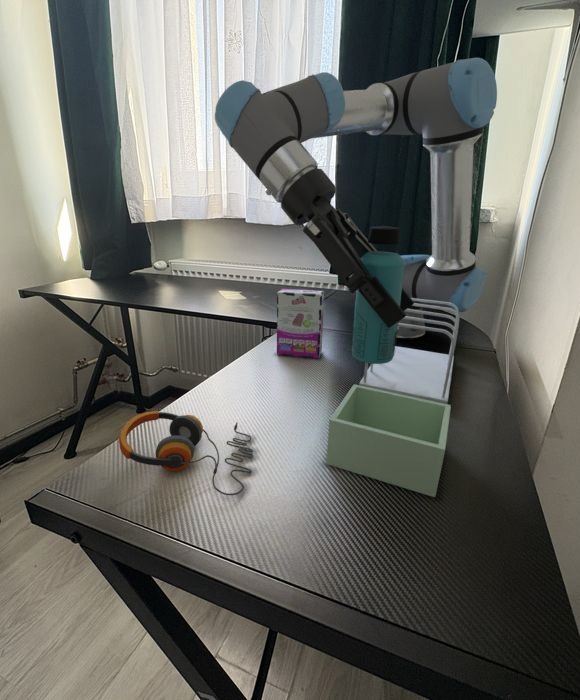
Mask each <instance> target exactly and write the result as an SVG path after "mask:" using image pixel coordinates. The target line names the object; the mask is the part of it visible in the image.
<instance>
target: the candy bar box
mask: <svg viewBox="0 0 580 700" xmlns="http://www.w3.org/2000/svg"><path fill="white" fill-rule="evenodd" d="M324 307H325V290H315V289H314V290H313V289H296V288H280V290H278V291H277V292H276V355H277V356H285V357H286V356H288V357H298V358H306V359H307V358H308V359H320V357H321V354H322V352H323V333H324V332H323V331H324V330H323V329H324V328H323V327H324Z"/></svg>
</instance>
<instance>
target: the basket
mask: <svg viewBox="0 0 580 700" xmlns="http://www.w3.org/2000/svg"><path fill="white" fill-rule="evenodd" d="M451 409H452V405H451V404H443V403H438V402H434V401H429V400H424V399H420V398H415V397H411V396H406V395H401V394H397V393H392V392H387V391H383V390H378V389H374V388H369V387H364V386H360V385H359V384H355V383H354V384H353V385H352V386H351V388H350V389H349V391H348V392H347V393H346V395H345V396H344V398H343V399H342V401H341V402H340V404H339V405H338V407H337V408H336V409H335V411H334V413H332V415H331V417H330V418H329V419H328V421H329V423H328V432H327V433H328V434H327V448H326V461H325V463H326V465H328V466H331V467H334V468H338V469H341V470H345V471H347V472H351V473H353V474H358V475H361V476H363V477H367V478H371V479H374V480H377V481H380V482H383V483H386V484H390V485H393V486H396V487H400V488H402V489H405V490H409V491H413V492H416V493H419V494H422V495H426V496H428V497H432V498H436V496H437V492H438V487H439V486H438V485H439V481H440V476H441V473H442V467H443V462H444V458H445V453H446V448H447V447H446V446H447V441H448V433H449V432H448V431H449V426H450V424H449V423H450V416H451Z"/></svg>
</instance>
